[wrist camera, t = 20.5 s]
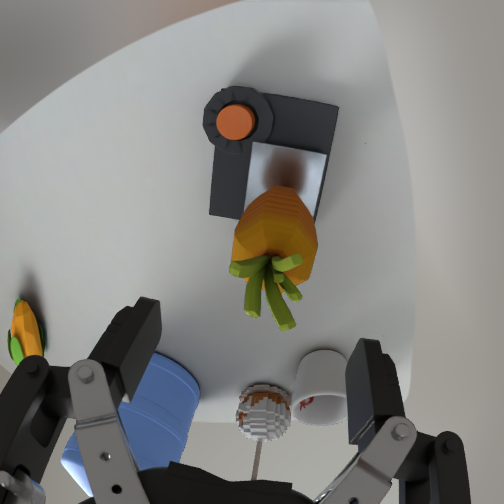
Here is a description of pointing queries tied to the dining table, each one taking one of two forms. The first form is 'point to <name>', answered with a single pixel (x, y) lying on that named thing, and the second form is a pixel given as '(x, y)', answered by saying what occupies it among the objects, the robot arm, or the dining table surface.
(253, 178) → the plate
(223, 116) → the button
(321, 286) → the dining table surface
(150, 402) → the water jug
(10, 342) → the corn
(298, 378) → the cup
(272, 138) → the scale
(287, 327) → the carrot
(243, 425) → the caramel apple
